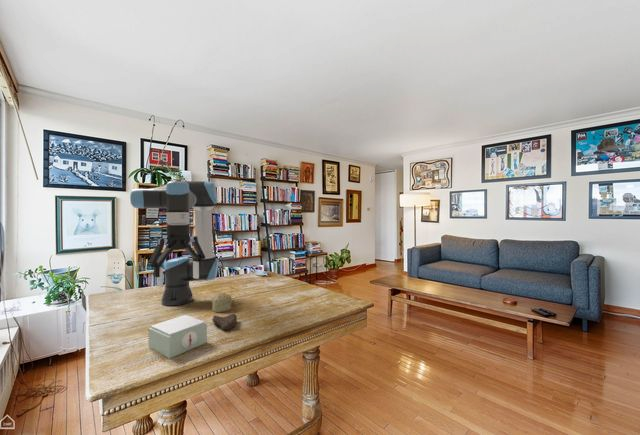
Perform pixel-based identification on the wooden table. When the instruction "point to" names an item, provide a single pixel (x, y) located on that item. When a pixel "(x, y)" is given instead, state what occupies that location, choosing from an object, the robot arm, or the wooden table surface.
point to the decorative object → (221, 302)
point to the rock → (225, 321)
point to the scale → (177, 335)
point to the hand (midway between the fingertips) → (178, 282)
